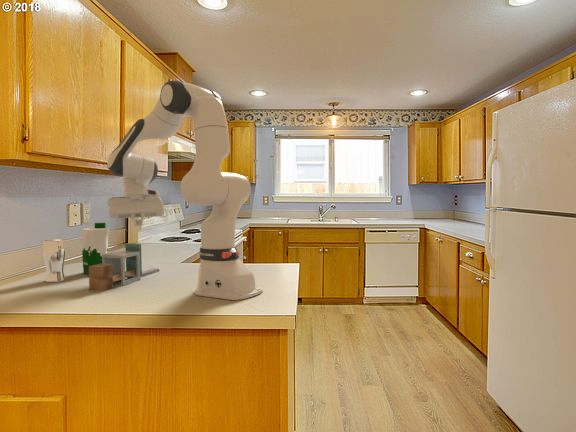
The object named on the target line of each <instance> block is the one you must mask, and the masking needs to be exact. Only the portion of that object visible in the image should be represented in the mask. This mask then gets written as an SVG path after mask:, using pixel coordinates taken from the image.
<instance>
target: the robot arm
mask: <svg viewBox="0 0 576 432" xmlns="http://www.w3.org/2000/svg"><path fill="white" fill-rule="evenodd" d="M186 117H187V118H190V119H192V120H193V133H194V144H195V145H194V146H195V157H194V161H193V164H192V167H191V168H190V170H189V171H188V172H187V173H186V174H184V176H183V177H182V179H181V182H180V186H179V188H180V189H179V191H180V194H181V196H182V199H183V200H184V202H186V203H188V204H192V205H196V206H201V207H202V206H206V207H207V206H212V210H211V212H210V215H208V217H206V218H205V219H204V220H203V221H202V223H201V224H200V248H199V251H198V253H199V259H200V264H199V268H198V276H197V277H198V278H197V287H196V290H195V293H194V295H195V296H201V297H202V296H203V297H206V298H207V297H208V298H215V299H223V300H230V301H238V300H244V299H248V298H251V297H255V296H257V295H260V294H262V293H263V291H264V290H263V287H260V286H256V279H255V274H254V273H253V271H252V270H251V269H249V267H247V266H246V264H244V263H243V262H242V260H241V259H240V256H239V255H241V254H242V253H241V252H242V250H238V248H237V247H236V245H235V244H236V243H235V242H236V223H237V222H236V221H237V218H238V215H239V212H240V210H241V208H242V206H243V205H244V204H245V202H246V201H248V199H249V198H250V195H251V192H252V189H251V188H252V187H251V183H250V181H249V179H248V178H247V177H246V176H244V175H242V174H238V173H235V172H227V171H226V172H225V171H221V164H222V161H223V160H225V159H226V158H228V157H229V155H230V152H231V146H230V145H231V144H230V135H229V134H230V133H229V127H228V119H227V115H226V111H225V107H224V105H223V101H222V98H221V96H220V94H218V93H217V92H216V91H213V90H211V89H207V88H205V87H202V86H199V85H196V84H193V83H188V82H182V81H181V80H168V81H166V82H165V83H164V84H163V86H162V87H161V89H160V94H159V98H158V100H157V101H156V103H155V104H154V107H153V109H152V111H151V112H150V113H149V114H148V115H147V116H145V117H143V118H140V119H137V120H136V121H135V122H134V124H133V125H132V126H131V128H129V130H128V131H127V133H126V134H125V136H124V137H123V138H122V140H121V141H120V142H119V144H118V145H117V147H116V148H115V149H113V151H112V152H111V153H110V154H109V156H108V159H107V163H106V165H107V166H106V167H107V170H108V171H109V172H110V173H111V174H112V175H113V176H117V177H123V178H122V181H123V186H124V188H123V196H112V197H111V198H108V200H107V204H108V205H107V206H108V207H109V208H108V209H109V210H108V211H109V212H108V213H109V215H108V216H109V217H110V218H111V219H126V218H127V219H129V218H130V220H131V221H132V222H133V224H134V227H137V226H138V227H139V226H141V227H142V226H143V222H144V221H145V220H146V219H145V218H152V217H153V218H156V217H159V218H160V217H163V216H164V214H165V205H164V202H163V200H162V198H161V197H160V193H159V191H158V190H154V189H150V188H147V186H148V185H150V184H152V182H153V181H155V180H156V178H157V177H158V172H159V170H158V169H159V168H158V164H157V161H156V160H155V159H154V158H152V157H148V156H144V155H139V154H136V153H133V151H134V149H135V147H136V146H137V145H138V143H140V142H142V141H145V140H146V141H147V140H152V139H153V140H154V139H155V140H158V139H159V140H164V139H169V138H171V137H173V136H175V135H176V134H177V133H178V132H179V130H180V128H181V127H182V125H183V122H184V120H185V118H186ZM136 218H140V219H136Z"/></svg>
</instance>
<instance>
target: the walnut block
mask: <svg viewBox="0 0 576 432" xmlns="http://www.w3.org/2000/svg"><path fill="white" fill-rule="evenodd" d="M88 276H89V277H88V282H89V283H88V284H89V291H95V292H104V291H107V290H110V289H113V288H114V282H113V271H112V264H96V265H92V266H89V274H88Z"/></svg>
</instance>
